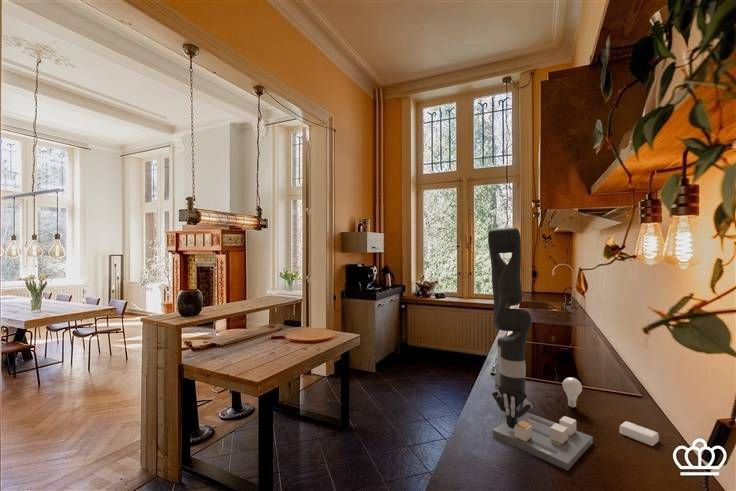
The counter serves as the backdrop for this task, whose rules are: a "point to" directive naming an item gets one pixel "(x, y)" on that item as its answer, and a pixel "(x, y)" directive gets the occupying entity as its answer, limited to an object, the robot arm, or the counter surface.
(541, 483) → the counter surface
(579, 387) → the lightbulb
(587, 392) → the counter surface
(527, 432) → the block
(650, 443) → the soap
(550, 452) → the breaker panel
